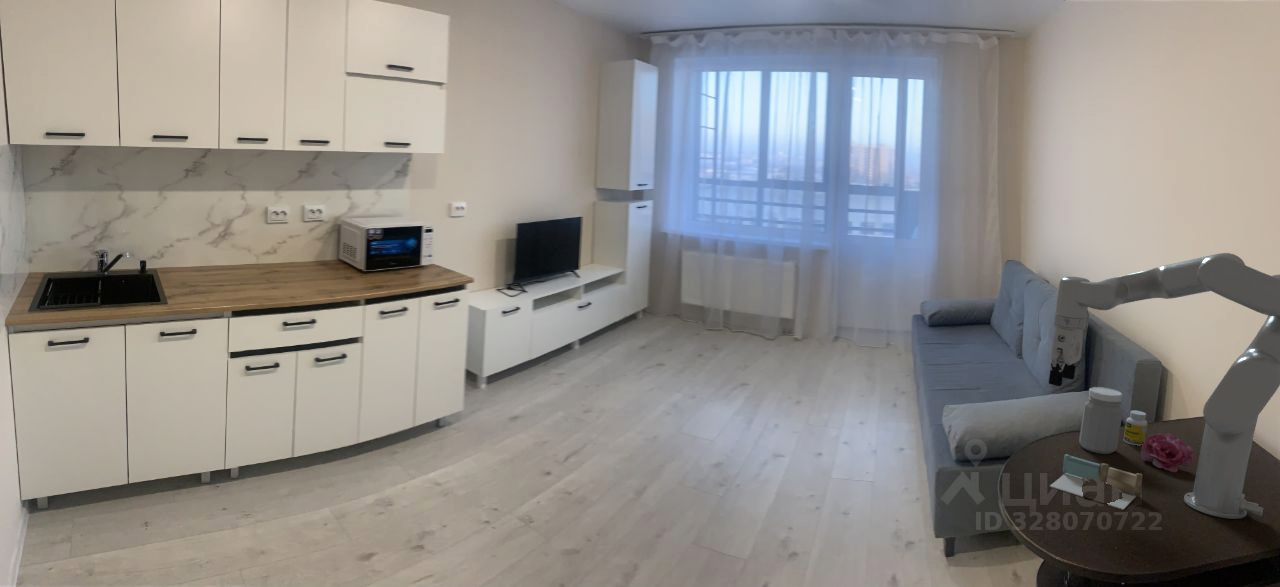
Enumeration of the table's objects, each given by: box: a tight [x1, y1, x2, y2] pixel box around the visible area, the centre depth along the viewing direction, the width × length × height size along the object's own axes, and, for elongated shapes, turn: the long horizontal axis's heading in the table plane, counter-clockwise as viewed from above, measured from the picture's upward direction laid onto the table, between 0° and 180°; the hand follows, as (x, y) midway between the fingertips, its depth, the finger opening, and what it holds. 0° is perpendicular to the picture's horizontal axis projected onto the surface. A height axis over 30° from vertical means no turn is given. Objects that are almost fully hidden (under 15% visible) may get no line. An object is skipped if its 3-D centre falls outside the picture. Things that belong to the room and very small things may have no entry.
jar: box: [1078, 386, 1123, 455], centre depth 224 cm, size 10×10×18 cm
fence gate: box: [1062, 453, 1102, 479], centre depth 203 cm, size 9×1×5 cm, turn 44°
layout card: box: [1049, 473, 1137, 511], centre depth 198 cm, size 17×15×1 cm
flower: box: [1140, 432, 1195, 473], centre depth 214 cm, size 11×10×10 cm
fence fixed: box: [1099, 462, 1143, 498], centre depth 197 cm, size 9×2×6 cm, turn 44°
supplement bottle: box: [1122, 409, 1148, 447], centre depth 230 cm, size 5×5×10 cm
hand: (1061, 381), depth 211 cm, fingers open, 9 cm apart
